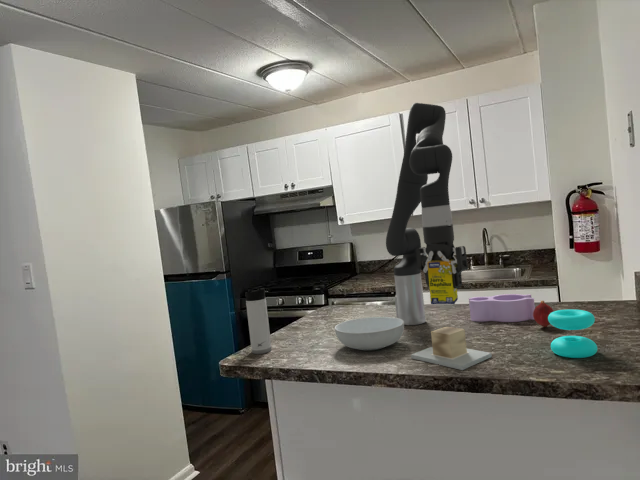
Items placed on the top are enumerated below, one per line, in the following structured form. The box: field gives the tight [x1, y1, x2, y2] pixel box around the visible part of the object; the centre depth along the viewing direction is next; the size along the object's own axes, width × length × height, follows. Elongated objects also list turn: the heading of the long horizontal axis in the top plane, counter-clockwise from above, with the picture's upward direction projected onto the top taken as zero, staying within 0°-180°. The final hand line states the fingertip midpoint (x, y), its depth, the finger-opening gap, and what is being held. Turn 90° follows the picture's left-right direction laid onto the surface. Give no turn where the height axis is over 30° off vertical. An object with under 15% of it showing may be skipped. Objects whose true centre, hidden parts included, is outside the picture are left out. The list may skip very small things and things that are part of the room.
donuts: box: [548, 308, 598, 359], centre depth 110 cm, size 10×10×10 cm
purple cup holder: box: [468, 293, 536, 323], centre depth 152 cm, size 20×12×7 cm, turn 72°
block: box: [430, 326, 468, 358], centre depth 117 cm, size 6×6×6 cm
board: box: [410, 346, 493, 371], centre depth 117 cm, size 16×12×1 cm
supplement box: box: [427, 260, 459, 305], centre depth 116 cm, size 6×6×11 cm
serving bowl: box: [334, 316, 405, 351], centre depth 135 cm, size 21×21×7 cm
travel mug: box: [244, 287, 272, 355], centre depth 143 cm, size 6×7×20 cm
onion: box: [533, 300, 554, 328], centre depth 135 cm, size 6×6×8 cm
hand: (443, 287), depth 116 cm, fingers closed on supplement box, 8 cm apart
